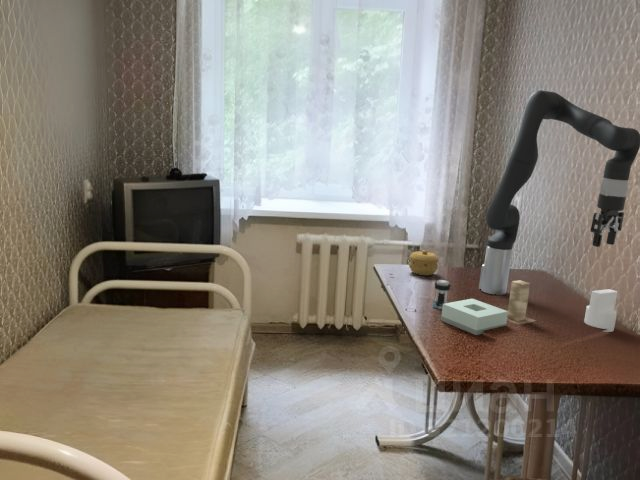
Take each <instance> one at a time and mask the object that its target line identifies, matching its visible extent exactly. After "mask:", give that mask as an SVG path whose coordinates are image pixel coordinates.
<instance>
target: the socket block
mask: <svg viewBox="0 0 640 480" xmlns="http://www.w3.org/2000/svg"><path fill="white" fill-rule="evenodd" d="M507 315H508V310H506V309H504V308H503V309H502V308H500V307H498V306H494V305H491V304H489V303H487V302H484V301H480V300H479V299H478V300H477V299H475V298H467V299H462V300H456V301H452V302H447V303H445V304H443V307H442V309H441V316H440V321H441V322H444V323H445V324H448V325H451V326H453V327H455V328H458V329H460V330H463V331H464V332H468V333H469V334H472V335H475V336H478V335H482V334H488V332H487V331H488V330H491V329H492V330H493V329H496V328H500V327H505V326H507Z"/></svg>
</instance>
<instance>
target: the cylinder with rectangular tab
mask: <svg viewBox="0 0 640 480" xmlns="http://www.w3.org/2000/svg"><path fill="white" fill-rule="evenodd" d="M618 293H619V292H618V291H617V290H613V289H609V288H608V289H600V290H592V291H591V295H590V300H589V305H586V308H585V315H584V319H583V322H584V323H585V324H586V325H587V326H590V327H593V328H597V329H602V330H601V332H602V333H603V332H604V333H611V332H614V330H615V325H616V320H617V315H618V311H617V309H616V302H617V297H618Z"/></svg>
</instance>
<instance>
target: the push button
mask: <svg viewBox="0 0 640 480" xmlns="http://www.w3.org/2000/svg"><path fill="white" fill-rule="evenodd" d="M451 287H452V285H451V284H450V282H449V281H448V280H446V279H445V280H444V279H438V280H437V282H434V288H435V290H436V293H435V299H434V301H433V303H432V308H435V309H438V310H442V307H443V304H445V303H448V301H447V299H448V291H450V290H451Z"/></svg>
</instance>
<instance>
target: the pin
mask: <svg viewBox="0 0 640 480" xmlns="http://www.w3.org/2000/svg"><path fill="white" fill-rule="evenodd" d="M530 286H531V283H530V282H527V281H523V280H520V279H519V280H512V281H511V284H510V290H509V291H510V293H509V299H508V307H507V311H508V315H507V317H508V318H510V319H513V320H516V321H520V320H524V319H525V317H526V316H527V315H526V313H527V307H528V302H529V294H530V288H531V287H530Z"/></svg>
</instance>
